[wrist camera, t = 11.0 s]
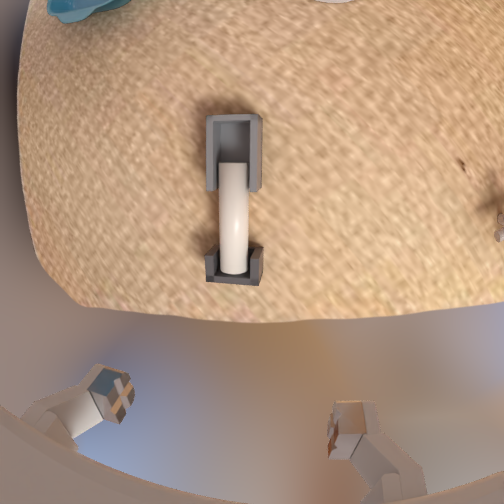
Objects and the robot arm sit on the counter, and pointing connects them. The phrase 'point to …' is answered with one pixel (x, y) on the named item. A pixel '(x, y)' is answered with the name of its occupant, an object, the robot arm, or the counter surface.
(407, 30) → the counter surface
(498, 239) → the pipe connector
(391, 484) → the robot arm
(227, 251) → the slip tube
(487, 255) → the counter surface
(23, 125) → the counter surface
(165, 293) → the counter surface
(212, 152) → the sleeve
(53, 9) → the casserole dish
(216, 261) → the socket
